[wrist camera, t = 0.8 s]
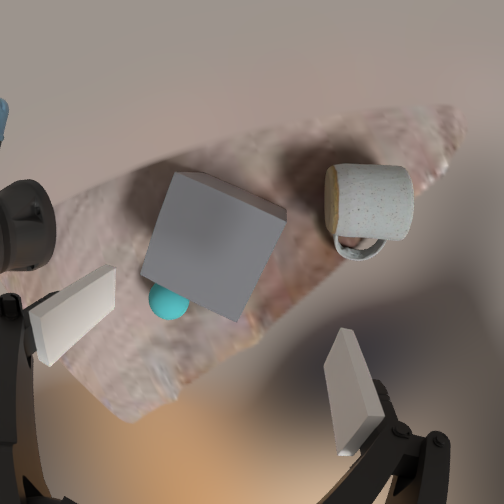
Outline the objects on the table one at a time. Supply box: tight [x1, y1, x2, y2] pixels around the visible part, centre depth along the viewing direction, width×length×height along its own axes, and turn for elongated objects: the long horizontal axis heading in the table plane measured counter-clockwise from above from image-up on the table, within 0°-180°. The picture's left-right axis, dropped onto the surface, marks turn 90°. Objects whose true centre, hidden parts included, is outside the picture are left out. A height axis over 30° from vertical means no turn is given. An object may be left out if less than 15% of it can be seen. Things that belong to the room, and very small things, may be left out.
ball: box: [149, 283, 189, 320], centre depth 33 cm, size 5×5×5 cm
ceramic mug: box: [324, 163, 414, 261], centre depth 27 cm, size 11×8×8 cm
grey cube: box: [140, 172, 287, 322], centre depth 28 cm, size 10×10×9 cm
